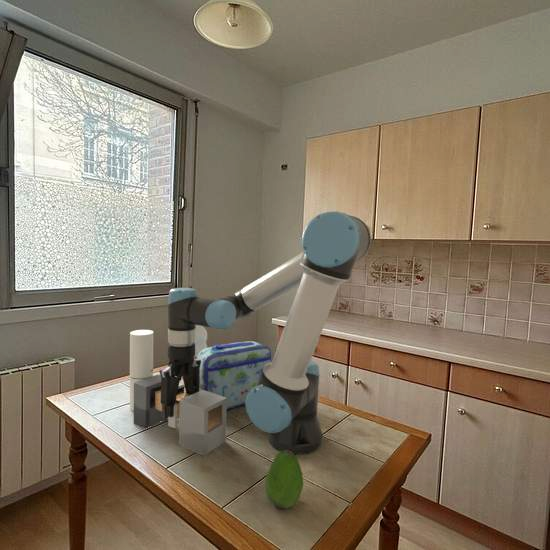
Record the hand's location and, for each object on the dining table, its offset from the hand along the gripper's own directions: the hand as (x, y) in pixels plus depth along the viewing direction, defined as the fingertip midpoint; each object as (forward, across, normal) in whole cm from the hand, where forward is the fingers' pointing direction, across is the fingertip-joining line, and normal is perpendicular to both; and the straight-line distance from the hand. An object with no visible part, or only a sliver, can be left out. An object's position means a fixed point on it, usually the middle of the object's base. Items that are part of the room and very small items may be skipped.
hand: (180, 422), depth 106 cm
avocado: (+3, +7, +39) cm, 40 cm away
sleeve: (+3, 0, +9) cm, 9 cm away
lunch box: (+4, -25, -1) cm, 25 cm away
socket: (+3, 0, -12) cm, 13 cm away
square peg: (-2, 0, +3) cm, 3 cm away
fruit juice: (+3, -29, -24) cm, 38 cm away
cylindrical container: (+3, -4, -23) cm, 23 cm away
